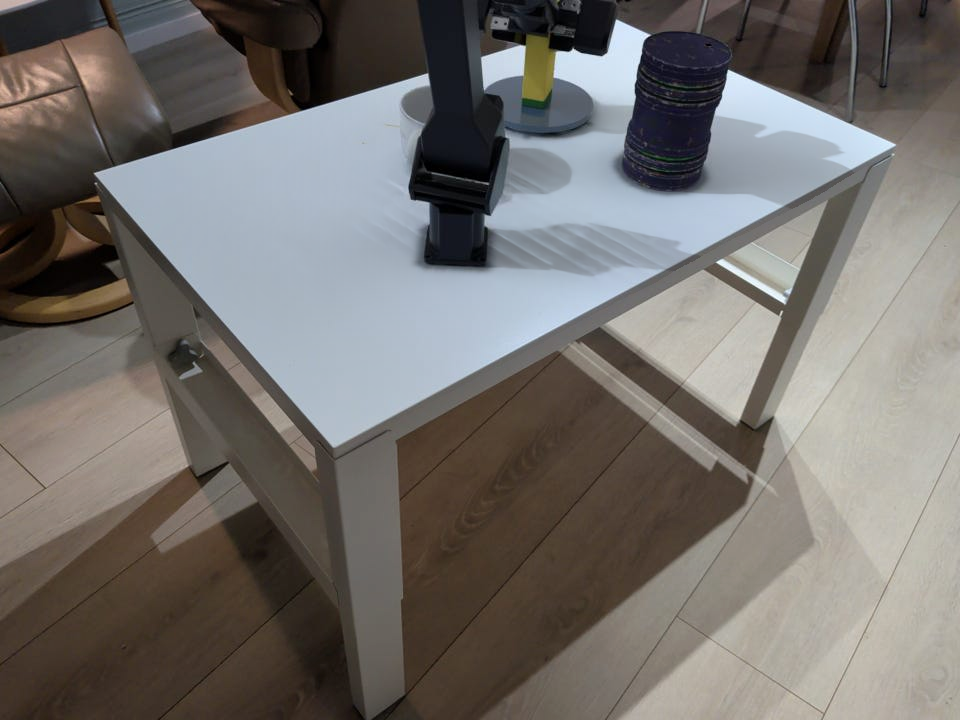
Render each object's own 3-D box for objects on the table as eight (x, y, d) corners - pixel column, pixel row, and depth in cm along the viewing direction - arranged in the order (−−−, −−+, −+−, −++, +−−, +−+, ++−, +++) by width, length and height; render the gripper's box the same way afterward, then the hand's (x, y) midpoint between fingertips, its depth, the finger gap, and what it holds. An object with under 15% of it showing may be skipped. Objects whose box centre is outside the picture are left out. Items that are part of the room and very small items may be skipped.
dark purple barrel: (649, 198, 93) (675, 74, 82) (604, 158, 99) (624, 37, 89) (718, 181, 96) (752, 59, 86) (671, 143, 102) (697, 25, 92)
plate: (595, 140, 102) (597, 130, 101) (478, 134, 102) (479, 124, 101) (588, 87, 113) (589, 77, 112) (482, 82, 113) (483, 72, 112)
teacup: (438, 134, 102) (437, 74, 96) (508, 162, 97) (512, 100, 92) (365, 180, 93) (360, 117, 88) (439, 213, 89) (438, 148, 83)
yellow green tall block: (551, 94, 108) (561, -10, 98) (543, 109, 105) (552, 2, 95) (530, 91, 108) (538, -13, 99) (521, 105, 105) (528, -1, 96)
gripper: (628, -76, 86) (630, -5, 101) (464, -98, 89) (490, -26, 105) (603, 25, 86) (608, 81, 101) (439, -1, 89) (469, 56, 105)
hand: (543, 45), depth 103 cm, fingers closed on yellow green tall block, 3 cm apart
